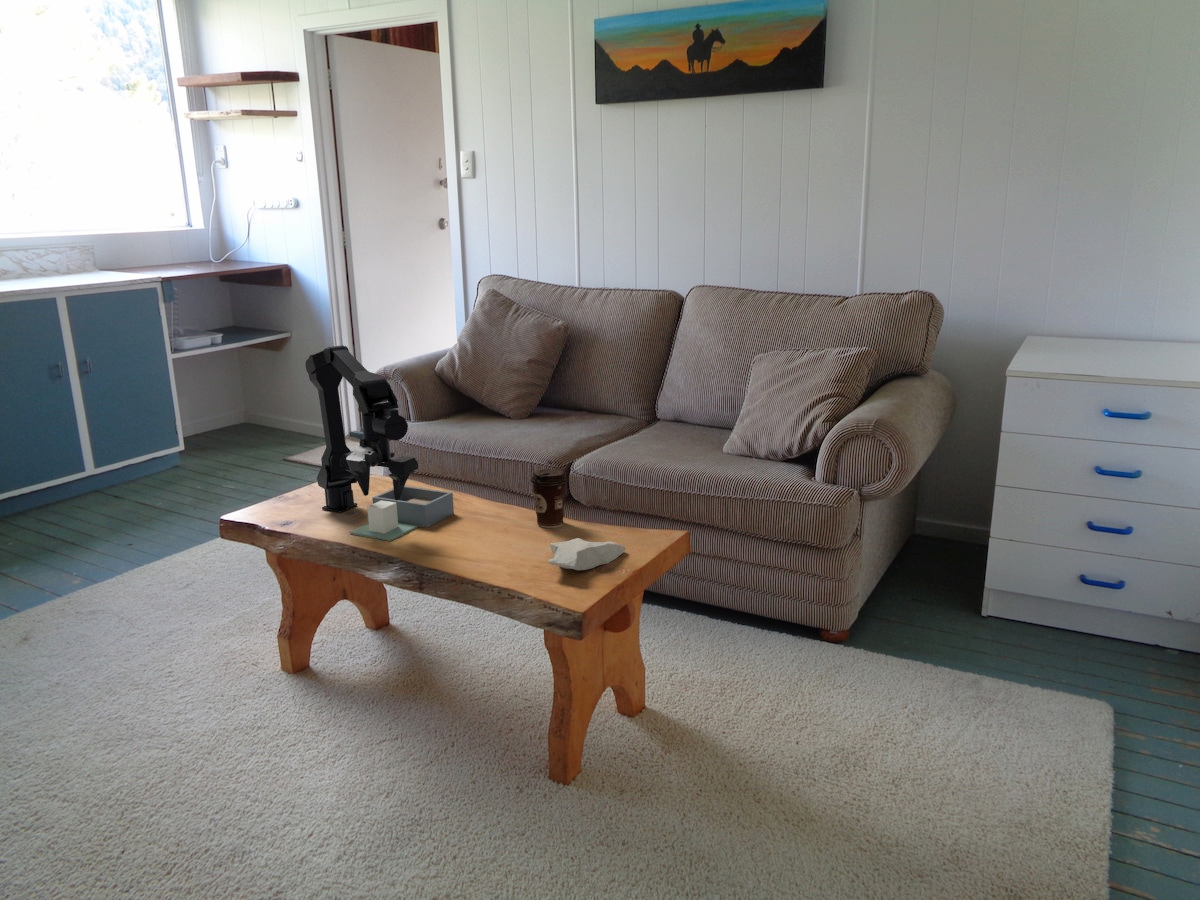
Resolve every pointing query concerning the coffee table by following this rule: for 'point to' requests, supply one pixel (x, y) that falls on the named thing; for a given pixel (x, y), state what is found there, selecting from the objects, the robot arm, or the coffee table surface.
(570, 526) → the coffee table surface
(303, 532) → the coffee table surface
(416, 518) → the slot box
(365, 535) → the board
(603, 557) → the rock
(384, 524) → the block
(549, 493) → the coffee cup
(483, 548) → the coffee table surface
